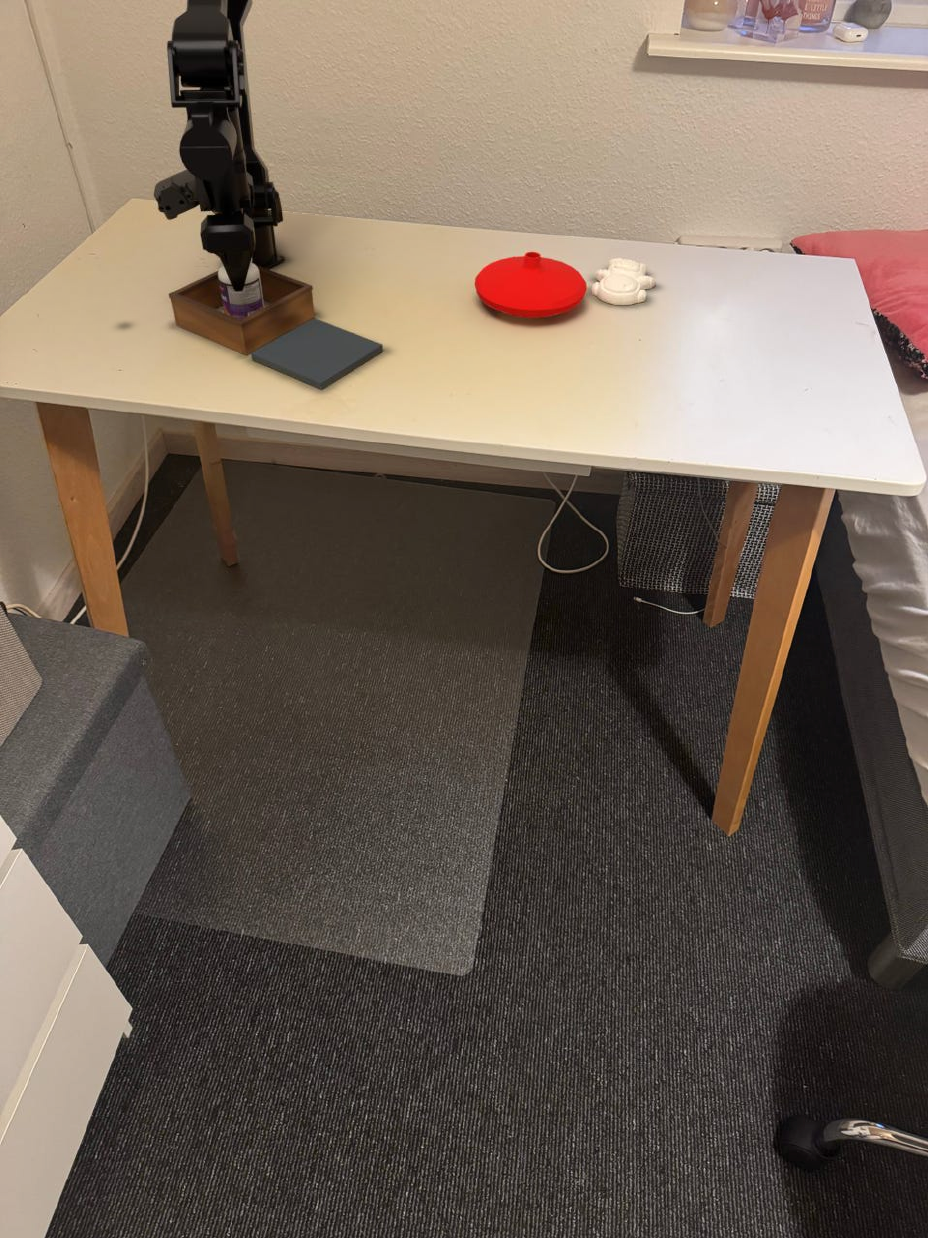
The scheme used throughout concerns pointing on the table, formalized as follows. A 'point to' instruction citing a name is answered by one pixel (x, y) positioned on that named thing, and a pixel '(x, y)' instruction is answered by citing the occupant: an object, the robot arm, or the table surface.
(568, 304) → the flat cone with hole
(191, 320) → the wooden square frame
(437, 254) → the table surface
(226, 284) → the pill bottle
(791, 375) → the table surface
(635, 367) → the table surface
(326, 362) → the mat
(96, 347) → the table surface
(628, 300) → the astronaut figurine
